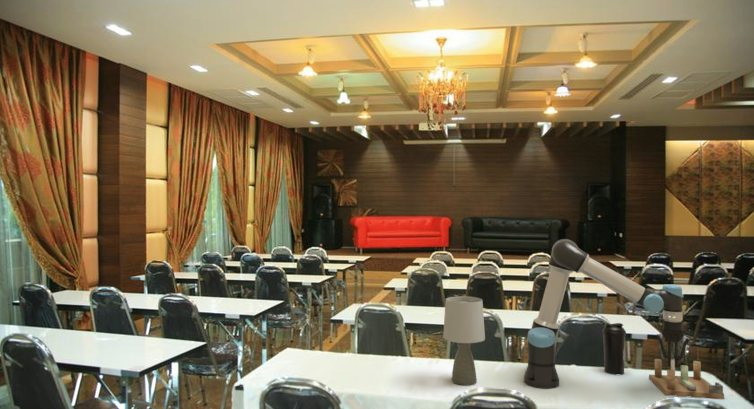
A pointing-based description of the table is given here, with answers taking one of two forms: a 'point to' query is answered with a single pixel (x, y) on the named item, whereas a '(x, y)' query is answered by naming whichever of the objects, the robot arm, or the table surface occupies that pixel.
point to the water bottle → (614, 348)
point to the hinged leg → (686, 378)
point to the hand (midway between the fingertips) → (673, 374)
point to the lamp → (464, 334)
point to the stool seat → (674, 386)
